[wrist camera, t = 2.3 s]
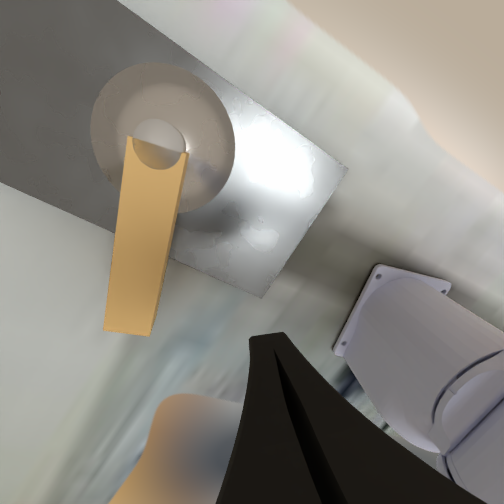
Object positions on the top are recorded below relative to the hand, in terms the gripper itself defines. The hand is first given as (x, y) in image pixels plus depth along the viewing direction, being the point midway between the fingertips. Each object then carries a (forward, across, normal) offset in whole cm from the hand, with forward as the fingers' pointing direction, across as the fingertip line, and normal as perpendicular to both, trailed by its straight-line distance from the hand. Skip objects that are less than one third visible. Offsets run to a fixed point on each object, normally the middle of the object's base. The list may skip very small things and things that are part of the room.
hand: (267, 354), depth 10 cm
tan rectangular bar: (+7, +5, -3) cm, 9 cm away
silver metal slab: (+10, +4, -7) cm, 13 cm away
